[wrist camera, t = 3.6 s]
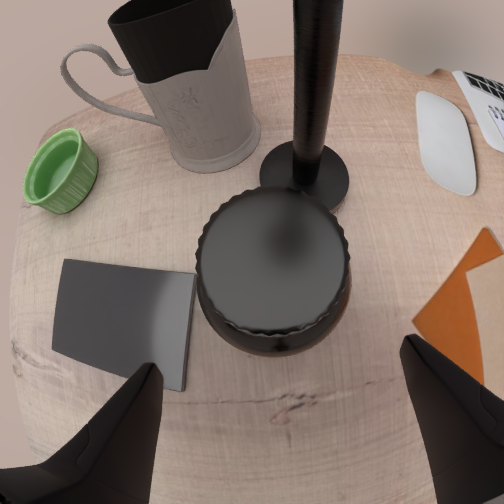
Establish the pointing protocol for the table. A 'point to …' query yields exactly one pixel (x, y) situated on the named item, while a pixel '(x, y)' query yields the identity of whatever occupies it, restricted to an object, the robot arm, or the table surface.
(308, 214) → the supplement bottle
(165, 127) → the glass holder
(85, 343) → the slate tile
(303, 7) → the desk lamp
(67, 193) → the ramekin
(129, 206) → the table surface
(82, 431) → the robot arm
